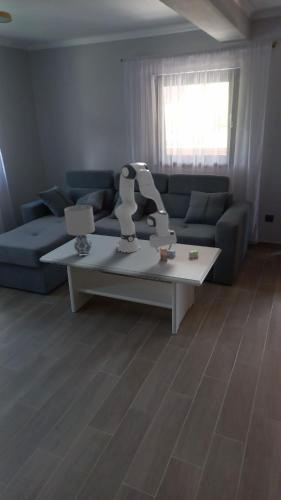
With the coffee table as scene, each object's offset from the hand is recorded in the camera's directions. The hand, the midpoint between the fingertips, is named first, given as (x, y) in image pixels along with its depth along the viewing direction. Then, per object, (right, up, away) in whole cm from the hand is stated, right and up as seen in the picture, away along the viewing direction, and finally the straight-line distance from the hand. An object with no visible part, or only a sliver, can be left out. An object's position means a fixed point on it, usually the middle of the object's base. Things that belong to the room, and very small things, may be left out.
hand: (163, 250), depth 255 cm
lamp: (-63, -3, +25) cm, 68 cm away
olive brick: (+23, -5, +4) cm, 24 cm away
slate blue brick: (+6, -4, +9) cm, 12 cm away
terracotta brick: (0, -2, +1) cm, 3 cm away
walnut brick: (0, -7, +2) cm, 7 cm away
